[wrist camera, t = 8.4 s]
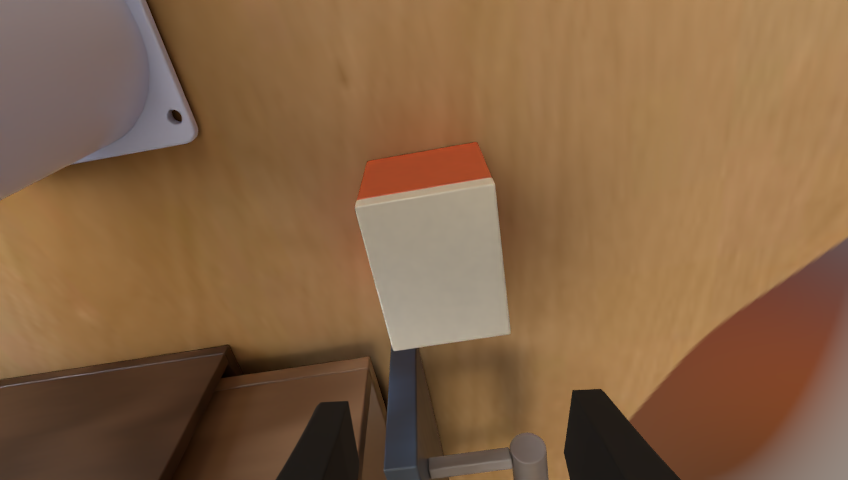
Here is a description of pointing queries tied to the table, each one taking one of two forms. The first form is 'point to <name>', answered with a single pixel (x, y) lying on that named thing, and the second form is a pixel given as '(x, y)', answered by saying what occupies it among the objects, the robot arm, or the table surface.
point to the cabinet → (108, 417)
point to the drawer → (373, 427)
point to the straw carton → (434, 246)
